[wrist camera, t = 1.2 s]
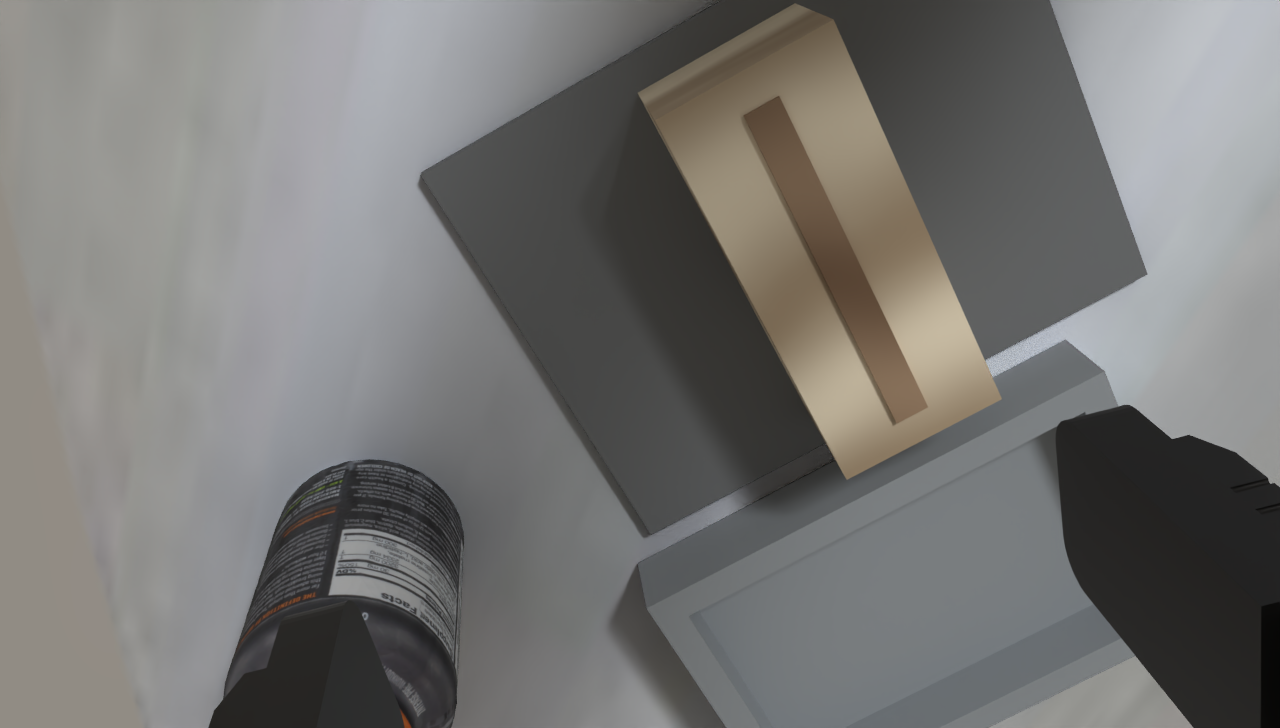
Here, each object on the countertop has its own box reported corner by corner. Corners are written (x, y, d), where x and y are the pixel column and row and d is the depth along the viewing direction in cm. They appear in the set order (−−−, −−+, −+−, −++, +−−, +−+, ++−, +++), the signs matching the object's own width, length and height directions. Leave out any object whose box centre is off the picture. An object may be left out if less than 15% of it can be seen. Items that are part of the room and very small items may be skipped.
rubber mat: (988, -153, 31) (994, -153, 30) (1140, 270, 36) (1147, 274, 36) (421, 172, 32) (420, 175, 32) (649, 528, 38) (651, 534, 38)
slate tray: (1065, 339, 37) (1104, 371, 34) (1162, 579, 41) (1203, 622, 39) (637, 563, 38) (646, 608, 36) (774, 772, 43) (790, 824, 40)
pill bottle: (317, 629, 38) (248, 908, 28) (251, 481, 36) (148, 727, 25) (487, 583, 38) (482, 844, 28) (433, 432, 36) (404, 657, 25)
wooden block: (637, 92, 32) (655, 121, 28) (794, 3, 31) (834, 19, 28) (812, 420, 37) (848, 482, 33) (951, 346, 36) (1004, 401, 32)
